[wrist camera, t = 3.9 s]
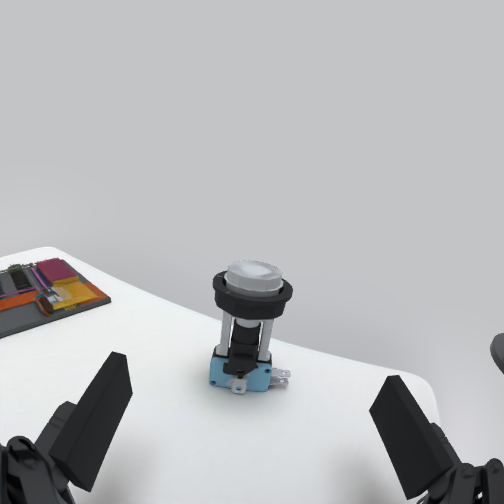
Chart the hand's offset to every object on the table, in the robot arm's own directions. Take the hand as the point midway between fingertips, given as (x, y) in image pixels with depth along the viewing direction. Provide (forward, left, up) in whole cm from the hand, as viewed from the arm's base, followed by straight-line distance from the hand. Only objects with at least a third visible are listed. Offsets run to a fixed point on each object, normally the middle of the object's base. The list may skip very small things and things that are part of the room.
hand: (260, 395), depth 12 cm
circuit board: (+32, +4, -6) cm, 33 cm away
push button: (+3, -7, -6) cm, 10 cm away
